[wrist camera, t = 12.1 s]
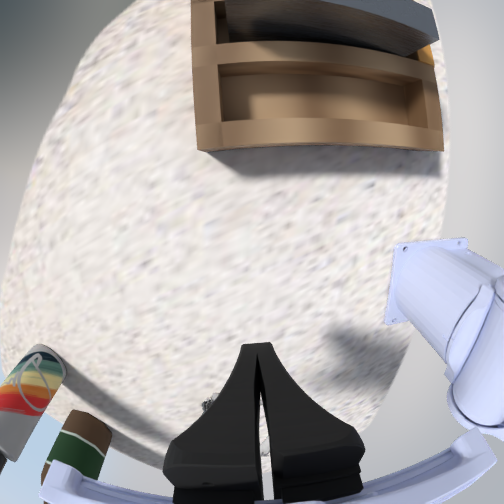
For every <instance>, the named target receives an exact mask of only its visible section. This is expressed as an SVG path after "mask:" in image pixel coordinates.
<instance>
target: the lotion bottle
mask: <svg viewBox="0 0 504 504" xmlns="http://www.w3.org/2000/svg"><path fill="white" fill-rule="evenodd" d="M65 377H66V368H65V366H64V364H63V362H62V361H61V359H60V358H59V357H58V356H57V354H56V353H54V352H53V351H52V350H51V349H50V348H48V347H46V346H44V345H41V344H37V345H35V346H34V347H32V348H31V350H30V351H29V352H28V353H27V354H26V355H25V356H24V357H23V359H22V360H21V361H20V362H19V363H18V365H17V366H16V367H15V368H14V369H13V371H12V372H11V373H10V374H9V376H8V377H7V378H6V379H5V381H4V382H3V383H2V384H1V386H0V474H1V472H2V470H3V468H4V466H5V464H6V462H7V459H6V458H8V459H9V460H11V461H13V462H16V461H17V460H18V458H19V456H20V454H21V452H22V450H23V449H24V447H25V445H26V443H27V441H28V439H29V437H30V435H31V434H32V432H33V430H34V428H35V426H36V425H37V423H38V421H39V419H40V418H41V416H42V414H43V413H44V411H45V409H46V408H47V406H48V404H49V403H50V401H51V400H52V398H53V396H54V395H55V393H56V392H57V390H58V388H59V387H60V385H61V384H62V382H63V380H64V379H65ZM5 457H6V458H5Z"/></svg>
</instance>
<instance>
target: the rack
mask: <svg viewBox="0 0 504 504" xmlns="http://www.w3.org/2000/svg"><path fill="white" fill-rule="evenodd" d="M413 1H414V0H413ZM191 47H192V74H193V93H194V110H195V124H196V137H197V150H200V151H204V152H211V151H220V150H231V149H242V148H256V147H273V146H301V145H339V146H367V147H384V148H396V149H407V150H417V151H444V142H443V128H442V118H441V109H440V102H439V95H438V88H437V83H436V77H435V72H434V60H433V56H432V52H431V48H430V44H429V45H427V46H425V47H423V48H421V49H419V50H417V51H415V52H414V53H412V54H410V55H408V56H406V57H401V56H397V55H393V54H389V53H384V52H380V51H375V50H369V49H364V48H358V47H352V46H344V45H337V44H327V43H316V42H300V41H253V42H236V43H230V42H229V33H228V25H227V17H226V9H225V0H191Z"/></svg>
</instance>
